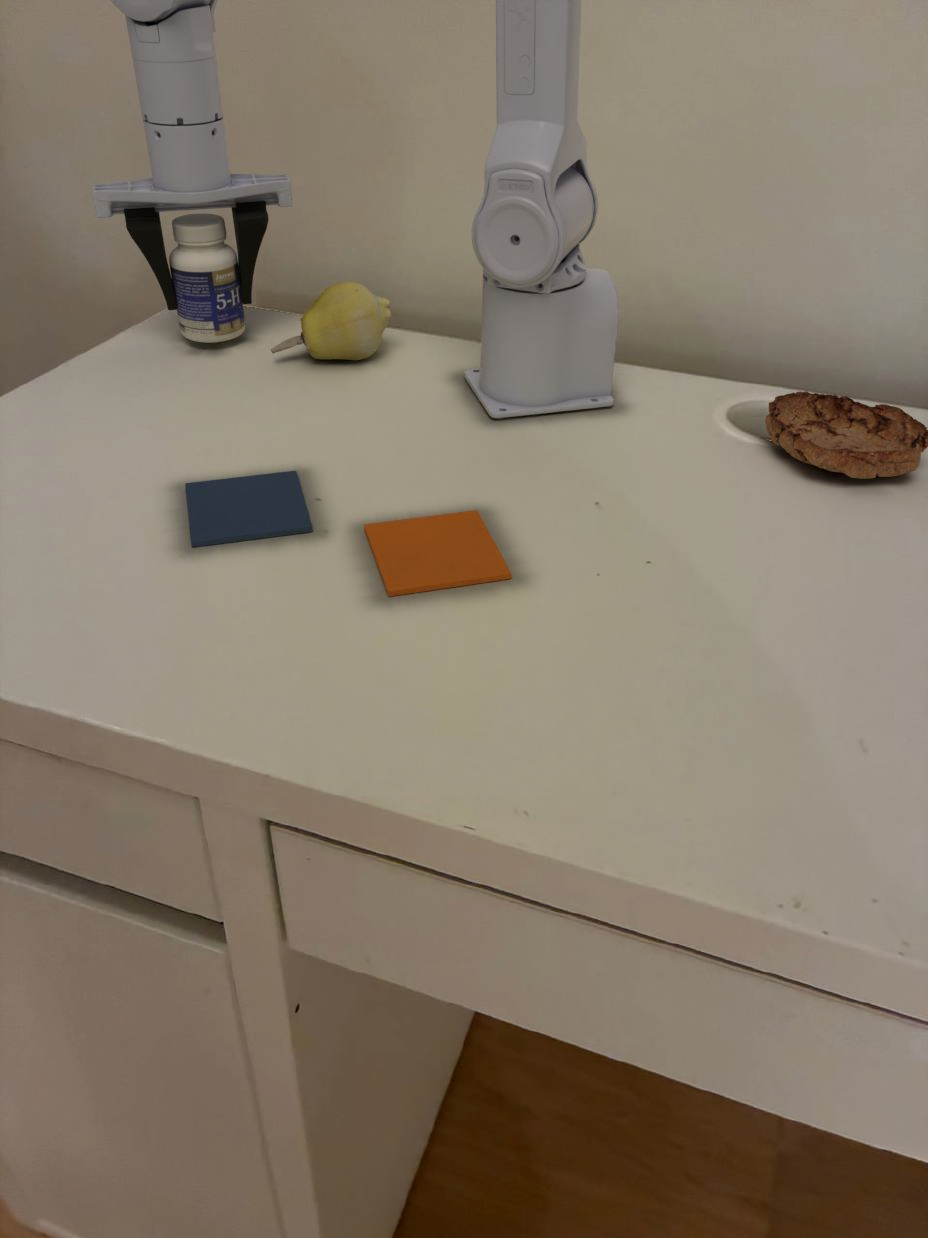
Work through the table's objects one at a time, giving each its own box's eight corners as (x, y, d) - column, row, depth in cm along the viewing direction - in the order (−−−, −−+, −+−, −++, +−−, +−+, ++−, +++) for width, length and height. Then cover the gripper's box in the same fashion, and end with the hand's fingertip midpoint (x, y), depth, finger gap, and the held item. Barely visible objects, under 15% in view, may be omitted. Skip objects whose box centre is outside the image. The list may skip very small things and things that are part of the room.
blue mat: (296, 475, 64) (296, 470, 64) (312, 532, 59) (312, 526, 58) (185, 488, 63) (184, 482, 62) (191, 547, 57) (190, 541, 57)
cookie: (736, 402, 67) (730, 442, 69) (857, 466, 60) (846, 509, 62) (841, 372, 71) (832, 410, 73) (966, 428, 64) (953, 469, 66)
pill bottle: (231, 346, 79) (215, 232, 74) (170, 341, 80) (150, 227, 75) (255, 322, 83) (242, 212, 78) (197, 317, 84) (180, 208, 79)
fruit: (263, 350, 80) (376, 315, 83) (291, 397, 77) (406, 359, 80) (252, 291, 76) (372, 256, 78) (281, 339, 73) (404, 300, 75)
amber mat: (476, 515, 61) (477, 509, 60) (511, 579, 55) (511, 573, 55) (364, 529, 59) (363, 524, 59) (388, 597, 54) (388, 591, 53)
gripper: (277, 103, 77) (293, 279, 85) (80, 110, 73) (117, 293, 82) (288, 122, 71) (304, 308, 79) (77, 130, 68) (116, 323, 76)
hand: (210, 302), depth 80 cm, fingers closed on pill bottle, 5 cm apart
